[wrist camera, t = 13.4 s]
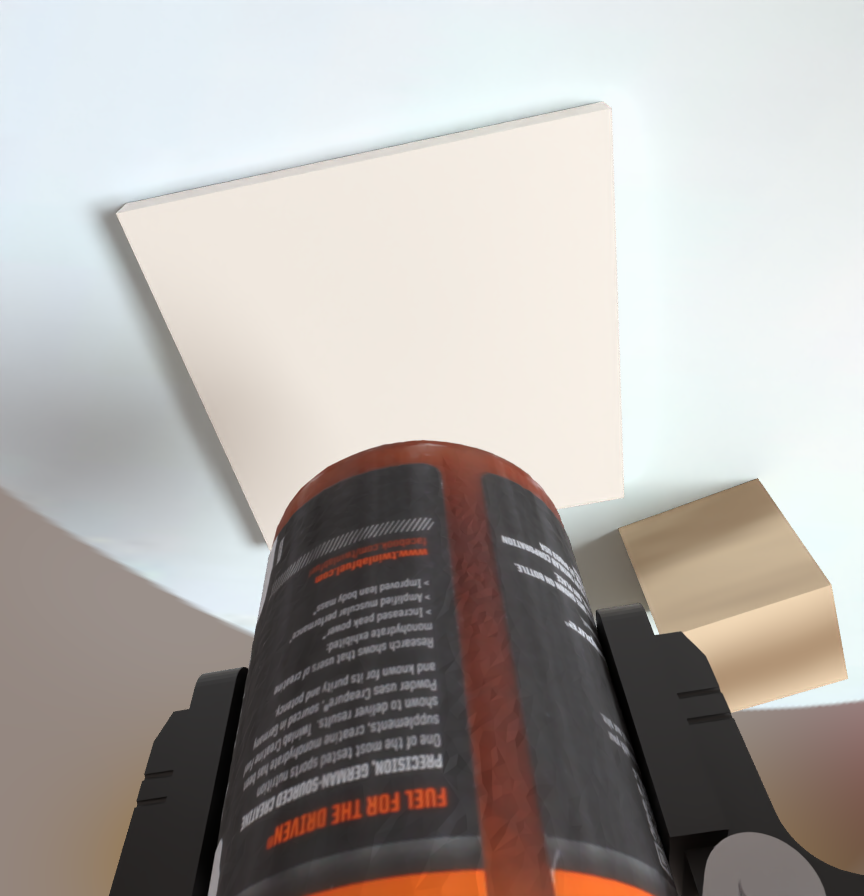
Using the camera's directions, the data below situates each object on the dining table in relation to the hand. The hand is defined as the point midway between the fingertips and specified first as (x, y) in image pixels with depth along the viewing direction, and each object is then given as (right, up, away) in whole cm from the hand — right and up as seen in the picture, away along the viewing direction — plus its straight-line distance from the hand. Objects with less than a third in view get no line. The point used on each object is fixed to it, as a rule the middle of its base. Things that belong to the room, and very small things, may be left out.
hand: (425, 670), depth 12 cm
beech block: (+10, 0, +14) cm, 17 cm away
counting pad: (-1, +6, +9) cm, 11 cm away
